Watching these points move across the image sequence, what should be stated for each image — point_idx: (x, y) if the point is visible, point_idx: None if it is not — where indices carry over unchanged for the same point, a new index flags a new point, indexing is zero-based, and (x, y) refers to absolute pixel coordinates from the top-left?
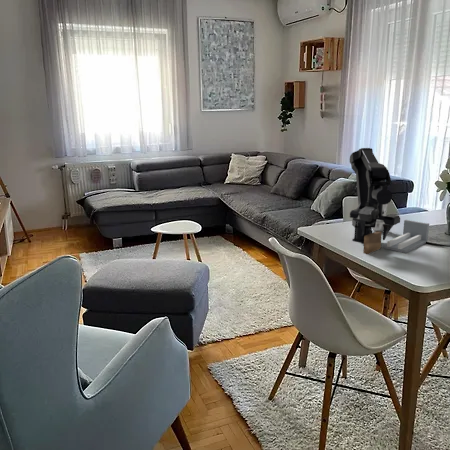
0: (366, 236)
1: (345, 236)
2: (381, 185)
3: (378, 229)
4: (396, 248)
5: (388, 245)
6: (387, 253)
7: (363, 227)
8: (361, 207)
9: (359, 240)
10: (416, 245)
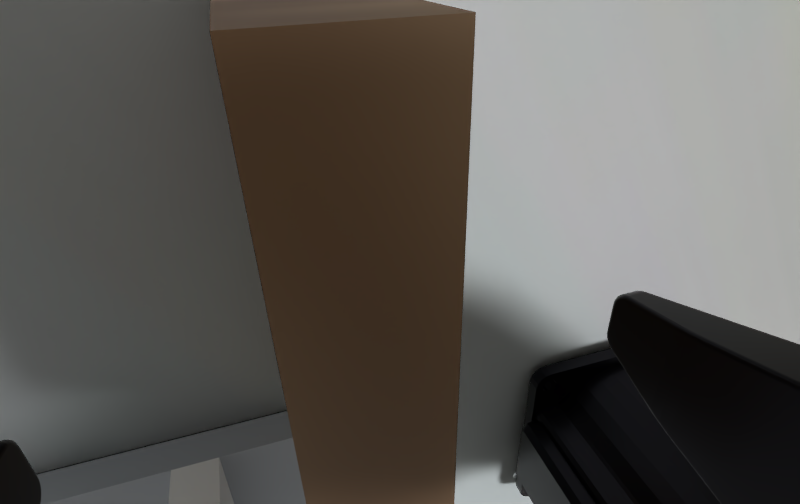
0: (363, 20)
1: None
2: None
3: None
4: (47, 502)
5: (193, 480)
6: (19, 296)
7: (778, 495)
8: None
9: (615, 365)
10: None
